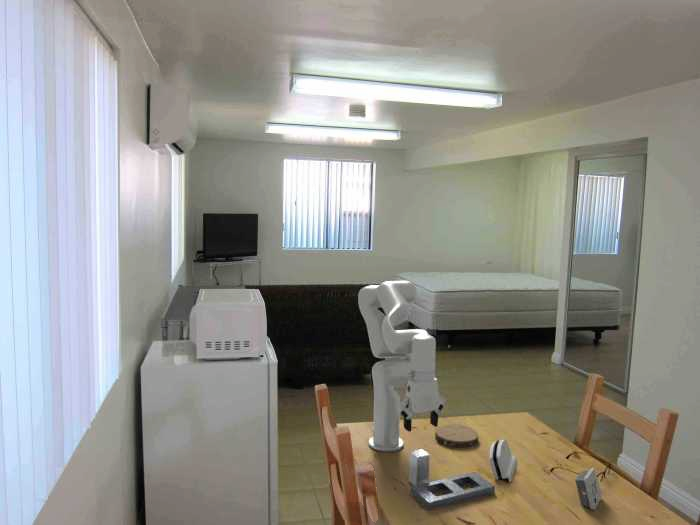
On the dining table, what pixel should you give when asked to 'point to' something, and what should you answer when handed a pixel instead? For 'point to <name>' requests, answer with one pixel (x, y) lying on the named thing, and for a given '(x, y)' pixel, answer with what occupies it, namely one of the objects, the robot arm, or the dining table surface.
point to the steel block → (418, 467)
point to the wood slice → (456, 436)
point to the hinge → (502, 460)
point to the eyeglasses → (591, 456)
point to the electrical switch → (588, 488)
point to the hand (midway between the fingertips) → (420, 427)
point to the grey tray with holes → (452, 490)
